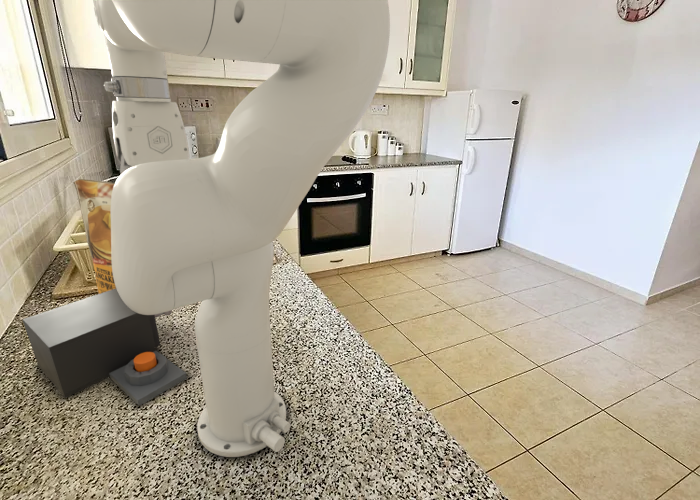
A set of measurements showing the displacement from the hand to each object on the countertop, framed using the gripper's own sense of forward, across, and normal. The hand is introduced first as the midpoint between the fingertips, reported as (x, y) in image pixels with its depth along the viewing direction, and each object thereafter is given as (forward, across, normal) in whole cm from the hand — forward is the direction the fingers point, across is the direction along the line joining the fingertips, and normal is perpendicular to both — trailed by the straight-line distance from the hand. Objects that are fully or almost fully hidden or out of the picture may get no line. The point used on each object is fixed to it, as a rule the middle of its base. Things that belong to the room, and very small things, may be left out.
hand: (162, 206), depth 64 cm
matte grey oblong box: (+27, -13, +6) cm, 31 cm away
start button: (+25, -10, -6) cm, 27 cm away
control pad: (+27, -10, -6) cm, 30 cm away
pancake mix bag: (+27, 0, +24) cm, 36 cm away
